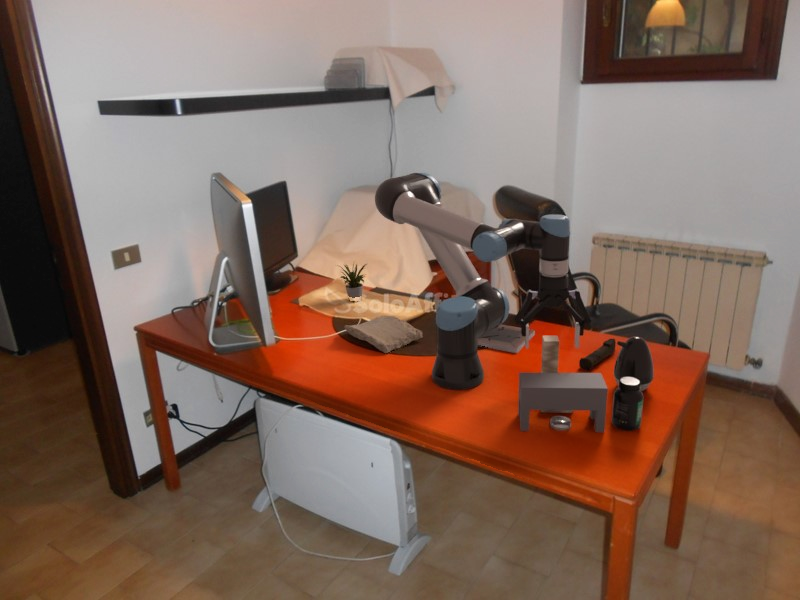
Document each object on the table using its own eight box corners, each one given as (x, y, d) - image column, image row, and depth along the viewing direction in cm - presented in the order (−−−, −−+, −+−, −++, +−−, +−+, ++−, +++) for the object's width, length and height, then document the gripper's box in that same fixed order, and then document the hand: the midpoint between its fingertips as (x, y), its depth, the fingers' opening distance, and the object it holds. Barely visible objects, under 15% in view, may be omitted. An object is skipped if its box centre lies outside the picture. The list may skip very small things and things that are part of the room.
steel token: (551, 431, 147) (551, 426, 147) (548, 420, 152) (549, 415, 151) (572, 431, 147) (572, 426, 146) (569, 420, 151) (569, 415, 151)
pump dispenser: (605, 380, 170) (609, 331, 165) (641, 377, 170) (646, 328, 165) (621, 398, 160) (625, 346, 155) (658, 395, 161) (664, 343, 156)
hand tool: (590, 373, 175) (591, 358, 174) (578, 368, 178) (579, 354, 176) (622, 352, 187) (624, 339, 185) (610, 349, 190) (612, 335, 188)
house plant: (330, 306, 239) (326, 266, 233) (339, 294, 251) (336, 257, 246) (365, 306, 236) (362, 267, 231) (372, 294, 249) (370, 257, 243)
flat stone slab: (377, 360, 192) (426, 338, 202) (374, 339, 189) (423, 318, 199) (339, 340, 211) (385, 321, 221) (335, 321, 208) (382, 302, 218)
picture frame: (455, 343, 201) (516, 355, 190) (455, 336, 200) (517, 347, 189) (476, 326, 214) (534, 336, 203) (476, 319, 213) (534, 329, 202)
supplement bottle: (645, 430, 145) (650, 386, 141) (618, 432, 145) (622, 388, 141) (632, 415, 152) (636, 373, 148) (606, 418, 151) (610, 375, 147)
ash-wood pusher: (541, 412, 155) (543, 365, 151) (533, 377, 174) (535, 334, 169) (572, 412, 154) (575, 365, 150) (562, 377, 173) (564, 334, 168)
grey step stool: (520, 430, 148) (521, 387, 144) (518, 414, 155) (519, 372, 151) (604, 432, 145) (607, 388, 141) (597, 415, 153) (600, 373, 149)
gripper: (507, 278, 158) (507, 352, 165) (604, 276, 155) (600, 351, 162) (505, 270, 165) (505, 341, 172) (599, 268, 162) (595, 340, 169)
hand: (551, 346), depth 167 cm, fingers open, 13 cm apart
